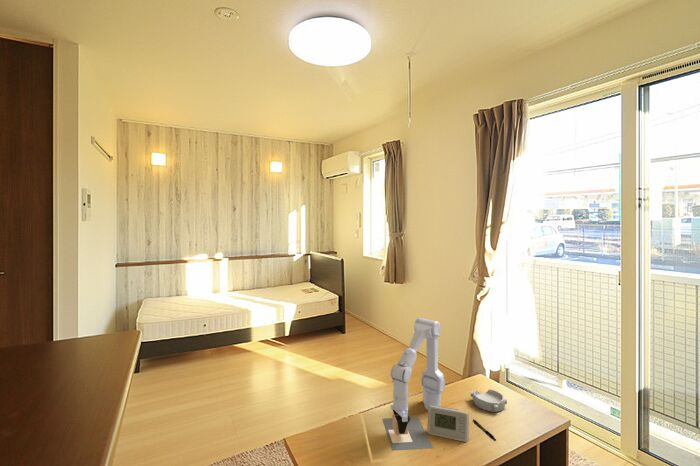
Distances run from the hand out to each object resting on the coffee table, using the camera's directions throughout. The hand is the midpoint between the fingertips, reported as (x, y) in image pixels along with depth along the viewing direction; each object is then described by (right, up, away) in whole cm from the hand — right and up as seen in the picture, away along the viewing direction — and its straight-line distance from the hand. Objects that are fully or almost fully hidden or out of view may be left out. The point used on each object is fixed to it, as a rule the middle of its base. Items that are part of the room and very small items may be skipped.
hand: (400, 428), depth 132 cm
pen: (+36, -4, +5) cm, 36 cm away
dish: (+46, -4, +24) cm, 52 cm away
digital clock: (+20, -4, +2) cm, 20 cm away
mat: (+3, -4, +2) cm, 5 cm away
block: (0, -1, 0) cm, 1 cm away
